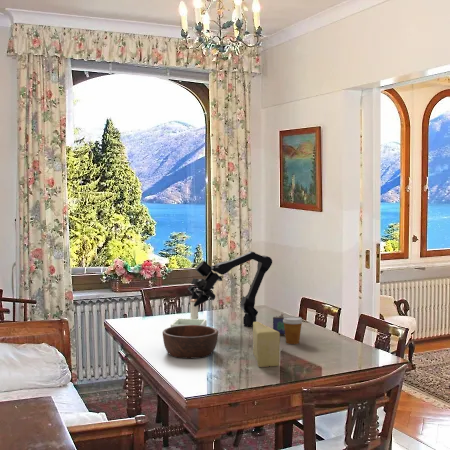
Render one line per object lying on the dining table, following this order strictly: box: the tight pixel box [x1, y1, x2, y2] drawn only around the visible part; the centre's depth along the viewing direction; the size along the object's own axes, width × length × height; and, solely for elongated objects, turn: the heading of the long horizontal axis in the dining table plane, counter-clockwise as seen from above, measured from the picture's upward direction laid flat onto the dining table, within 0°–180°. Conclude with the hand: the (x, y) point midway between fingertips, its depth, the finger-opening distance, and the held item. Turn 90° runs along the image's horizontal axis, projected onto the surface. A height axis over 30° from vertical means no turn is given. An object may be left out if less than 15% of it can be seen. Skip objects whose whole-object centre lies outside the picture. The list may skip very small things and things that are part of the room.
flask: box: [272, 313, 285, 336], centre depth 321 cm, size 9×3×11 cm, turn 88°
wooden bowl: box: [162, 325, 219, 359], centre depth 284 cm, size 25×25×10 cm
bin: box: [170, 318, 208, 327], centre depth 331 cm, size 16×16×4 cm
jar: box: [189, 298, 199, 319], centre depth 328 cm, size 4×4×10 cm
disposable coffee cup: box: [283, 315, 304, 345], centre depth 303 cm, size 10×10×12 cm
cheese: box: [252, 321, 281, 368], centre depth 273 cm, size 22×10×15 cm, turn 13°
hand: (192, 305), depth 327 cm, fingers closed on jar, 4 cm apart
